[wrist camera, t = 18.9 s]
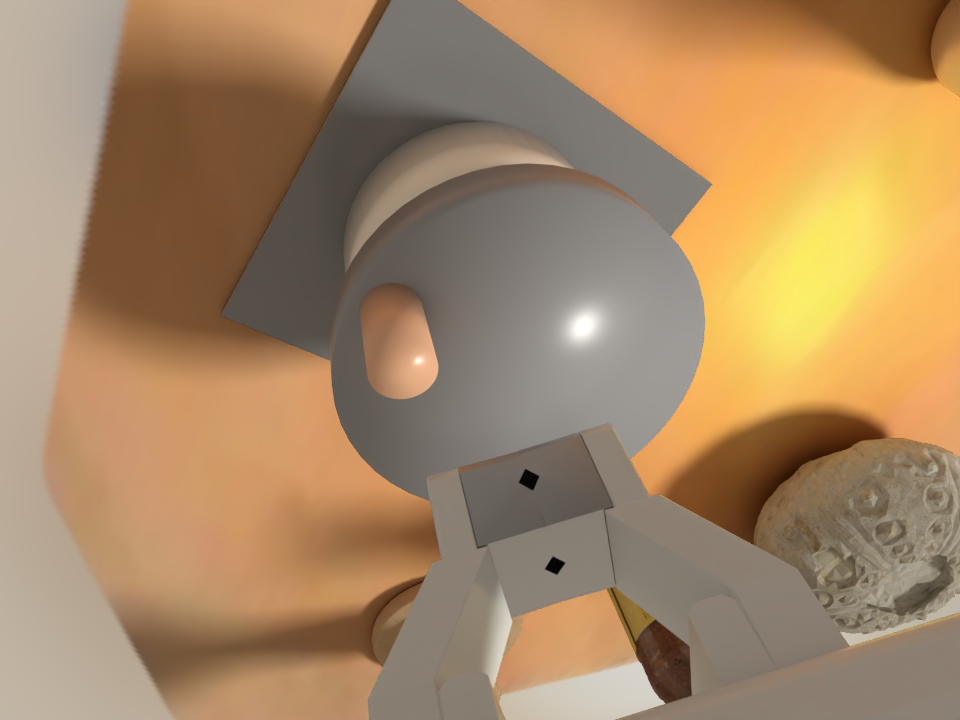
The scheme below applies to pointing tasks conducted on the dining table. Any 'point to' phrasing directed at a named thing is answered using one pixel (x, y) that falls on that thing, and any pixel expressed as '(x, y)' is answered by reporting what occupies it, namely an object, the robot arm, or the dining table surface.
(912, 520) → the decorative shell
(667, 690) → the sauce bottle
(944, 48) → the plastic bottle
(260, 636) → the dining table surface
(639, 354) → the lid
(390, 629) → the candle holder
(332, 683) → the dining table surface
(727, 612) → the robot arm
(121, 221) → the dining table surface
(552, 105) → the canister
